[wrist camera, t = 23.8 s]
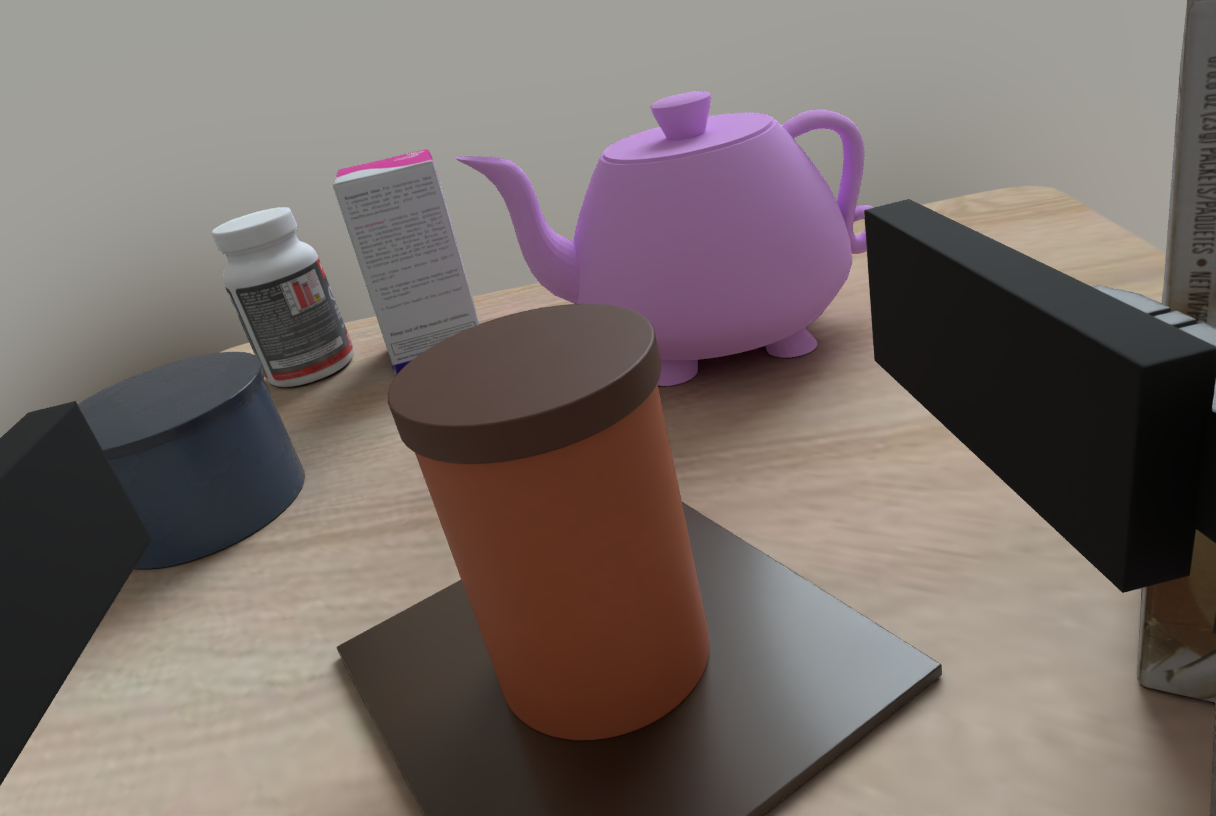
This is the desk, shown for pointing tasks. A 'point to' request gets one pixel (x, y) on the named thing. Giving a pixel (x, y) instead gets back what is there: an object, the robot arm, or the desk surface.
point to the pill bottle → (282, 298)
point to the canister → (562, 512)
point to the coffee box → (1212, 294)
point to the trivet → (669, 747)
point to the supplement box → (406, 252)
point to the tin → (197, 453)
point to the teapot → (703, 231)
